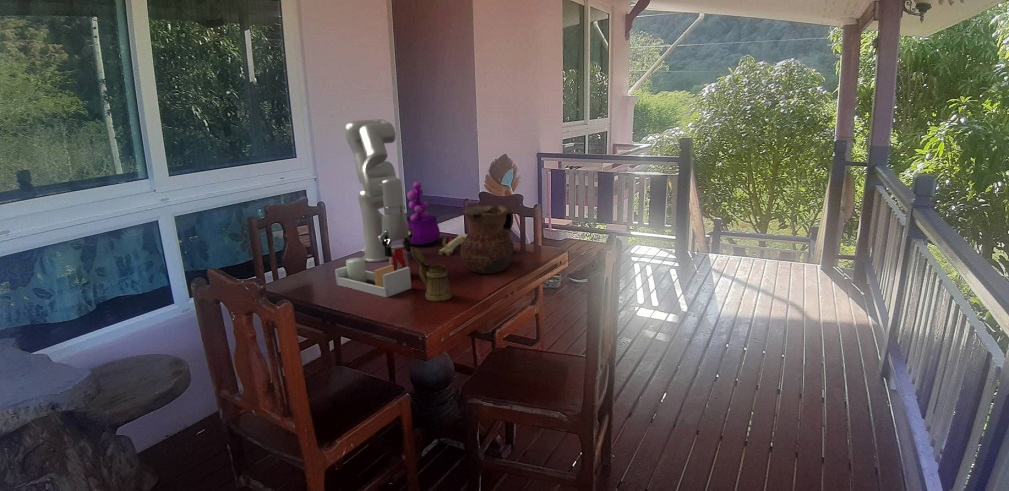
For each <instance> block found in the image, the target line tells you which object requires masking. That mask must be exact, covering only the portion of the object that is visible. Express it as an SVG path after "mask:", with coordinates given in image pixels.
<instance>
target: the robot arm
mask: <svg viewBox="0 0 1009 491" xmlns="http://www.w3.org/2000/svg"><path fill="white" fill-rule="evenodd" d="M344 127H345V128H344V132H345V138H346V141H347V144H348V146H349V148H350V151H352V152H351V153H352V154H353V157H354V163H355V168H356V175H357V179H358V181H359V183H360V184H362V187H363V188H362V189H360V190H359V192H358V195H357V198H358V202H359V206H360V211H361V216H362V217H361V218H362V226H363V227H362V228H363V237H364V246H365V247H363V248H362V249H361V252H362V253H364V255H363V256H362V258H364V259H365V262H369V263H378V262H386V261H389V257H392V250H391V247H390V246H391V244H392V243H393V242H395V241H399V240H402V239H403V240H404V241H403V240H402V243H403V244H402V245H404V247H405V249H406V252H408V253H410V252H411V244H410V241H411V238H412V234H413V229H412V228H409V227H408V222H407V218H406V217H407V214H406V212H405V209H406V206H405V205H404V194H403V193H404V192H403V183H402V180H401V179H400V178H398V177H397V175H396V174H397V173H396V170H395V167H394V165H393V163H391V162H390V161H388V160H387V158H388V152H387V151H388V150H387V147H386V145H385V144H392V143H393V144H394V143H395V141H396V137H397V135H396V134H397V133H396V129H395V127H394V126H393V124H392V123H391V122H389V121H387V120H385V119H360V120H352V121H349V122H348V123H346V125H345V126H344ZM379 209H383V210H384V211H383V212H384V215H383V214H382V213H381V212H380V211H379Z"/></svg>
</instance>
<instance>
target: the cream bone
mask: <svg viewBox="0 0 1009 491" xmlns="http://www.w3.org/2000/svg"><path fill="white" fill-rule="evenodd" d="M468 234H469V233H467V234H466V233H465V234H464V233H460V234H458V235H457V236H456V237H455V238H454V239H453V237H454V235H453V236H451V237H450V238H448V241H447V238H446V237H444V238H443V239H442V246H443V247H442V248H441V249H439V251H438V252H437V254H438V255H439V256H443V255H444V254H445V256H446V257H450V256H451V255H452V253H453V252H454V251H453V250H454V249H455V248H456V247H458V246H460V245H462V243H463V241H464V239H465V238H466V236H467V235H468ZM447 242H448V243H447Z"/></svg>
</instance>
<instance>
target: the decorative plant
mask: <svg viewBox="0 0 1009 491" xmlns="http://www.w3.org/2000/svg"><path fill="white" fill-rule="evenodd" d="M412 188H413V189H414V190H410V191H408V192H407V195H406V197H407V199H408V200H410V201H409V203H408V207H409V208H410V210H413V211H414V212H415V213H414V214H412V215H411V216H406V218H407V222H408V227H409V228H412V229H413V234H412V238H411V241H410V245H415V246H416V245H417V246H419V245H420V246H421V245H428V244H431V243H434V242H436V241H438V240H439V238H440V236H441V230H440V227H439V224H438V220H437V217H436V216H435V215H432V214H431V215H430V214H429V212H428V211H427V209H428V208H429V203H428V202H427V201H426V200H425V201H421V196H422V195H423V194H424V190H422V189H421V188H422V184H421V182H419V181H414V182H413V184H412ZM401 240H402V242H403V241H404V240H403V239H401Z"/></svg>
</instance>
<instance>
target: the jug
mask: <svg viewBox="0 0 1009 491" xmlns="http://www.w3.org/2000/svg"><path fill="white" fill-rule="evenodd" d="M463 213H464V214H465V216H466V218H467V219H468V222H469V229H470V230H469V232H468V233H467V234H468V235H467V236H466V238H465V239H464V241H463V243H462V244H460V245H461V246H460V257H461V260H462V262H463V264H465V267H466V268H468V269H469V270H470V271H472V272H474V273H476V274H483V275H488V274H489V275H490V274H491V275H492V274H496V273H500V272H503V271H504V270H505V269H507V268H508V267H509V265H510V263H511V261H512V260H513V255H514V250H515V247H514V246H515V245H514V241H513V240H512V239H511V236H510V233H511V229H512V227H513V224H514V214H513V210H512V209H511V208H510V207H508V206H507V205H506V206H505V205H501V204H498V205H489V204H487V205H470V206H468V207H465V208H464V210H463Z"/></svg>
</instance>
